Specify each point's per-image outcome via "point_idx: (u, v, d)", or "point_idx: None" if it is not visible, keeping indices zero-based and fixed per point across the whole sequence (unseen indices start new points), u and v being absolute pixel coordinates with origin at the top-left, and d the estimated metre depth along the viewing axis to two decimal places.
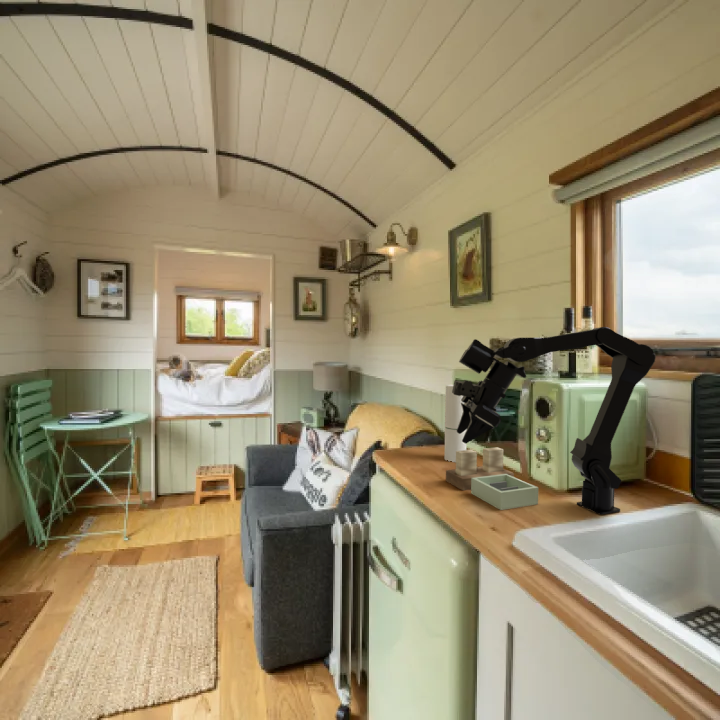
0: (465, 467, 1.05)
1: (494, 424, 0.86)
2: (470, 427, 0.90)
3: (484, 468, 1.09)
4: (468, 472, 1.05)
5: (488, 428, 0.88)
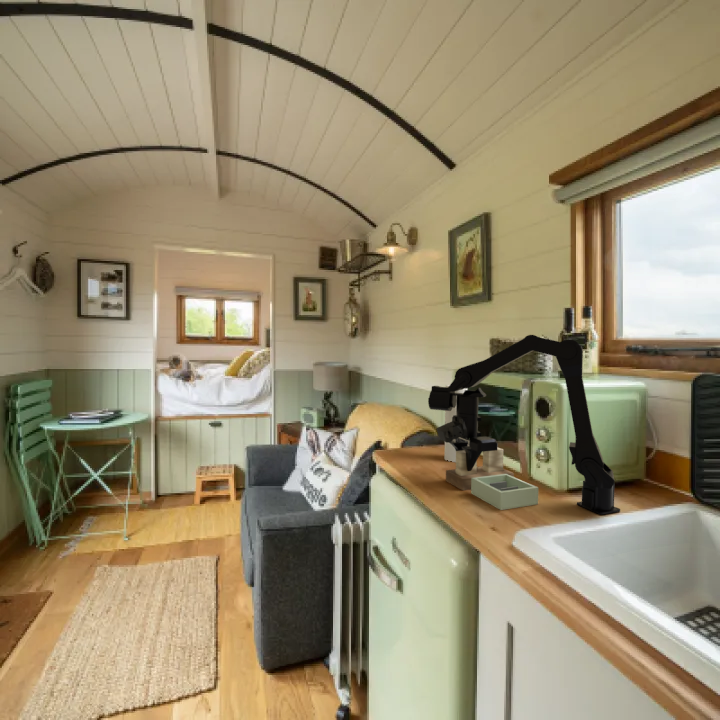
0: (465, 467, 1.05)
1: (495, 449, 0.98)
2: (469, 457, 1.03)
3: (484, 468, 1.09)
4: (468, 472, 1.05)
5: None
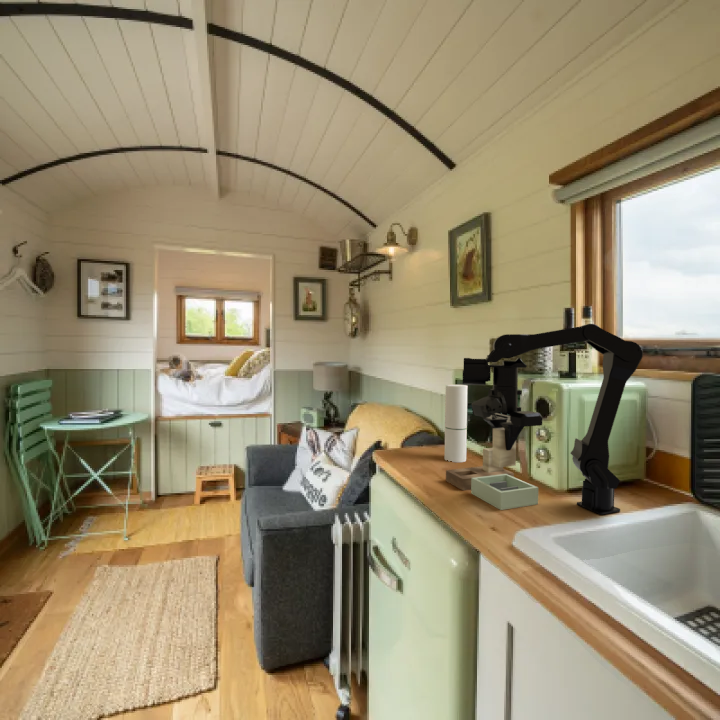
0: (504, 445, 0.95)
1: (540, 423, 0.88)
2: (509, 435, 0.93)
3: (484, 468, 1.09)
4: (507, 451, 0.95)
5: (522, 426, 0.93)
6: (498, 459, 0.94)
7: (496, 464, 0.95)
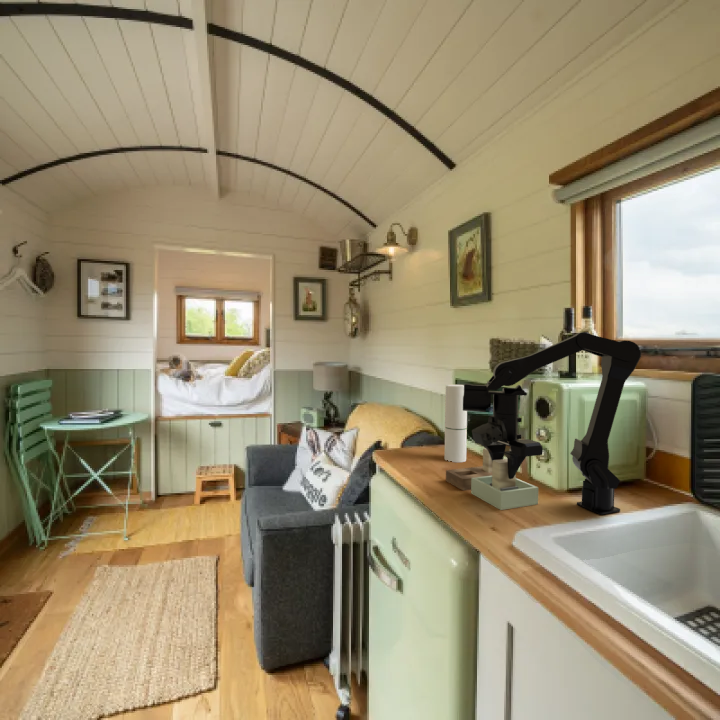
0: (503, 478, 0.95)
1: (541, 453, 0.88)
2: (512, 464, 0.92)
3: (484, 468, 1.09)
4: (507, 484, 0.95)
5: None
6: None
7: None
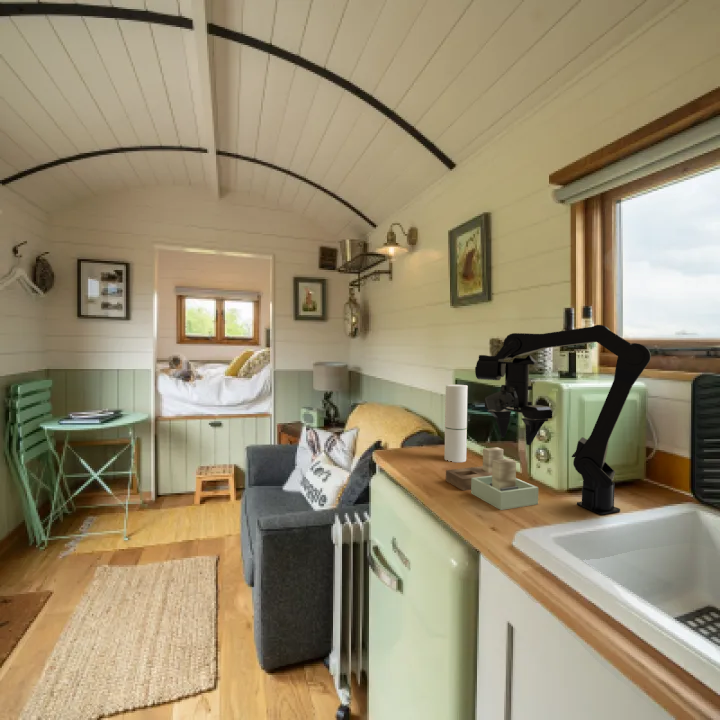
0: (503, 478, 0.95)
1: (551, 417, 0.94)
2: (530, 430, 0.96)
3: (484, 468, 1.09)
4: (507, 484, 0.95)
5: (542, 422, 0.96)
6: None
7: None
